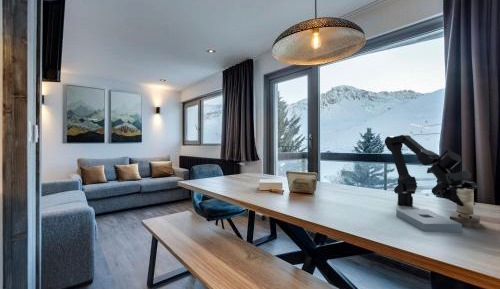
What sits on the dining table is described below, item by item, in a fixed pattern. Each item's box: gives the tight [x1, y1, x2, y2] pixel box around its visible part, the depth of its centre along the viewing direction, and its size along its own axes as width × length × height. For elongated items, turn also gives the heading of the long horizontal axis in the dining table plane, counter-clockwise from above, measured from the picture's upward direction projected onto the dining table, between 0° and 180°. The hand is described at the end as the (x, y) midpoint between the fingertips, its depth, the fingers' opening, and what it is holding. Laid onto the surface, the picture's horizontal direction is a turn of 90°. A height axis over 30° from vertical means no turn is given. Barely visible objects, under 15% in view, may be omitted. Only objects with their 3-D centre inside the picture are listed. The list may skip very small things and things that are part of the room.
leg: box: [455, 188, 475, 218], centre depth 103 cm, size 6×6×13 cm
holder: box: [449, 211, 481, 230], centre depth 104 cm, size 9×9×3 cm
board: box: [395, 208, 463, 233], centre depth 104 cm, size 20×14×3 cm
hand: (468, 205), depth 102 cm, fingers closed on leg, 5 cm apart
